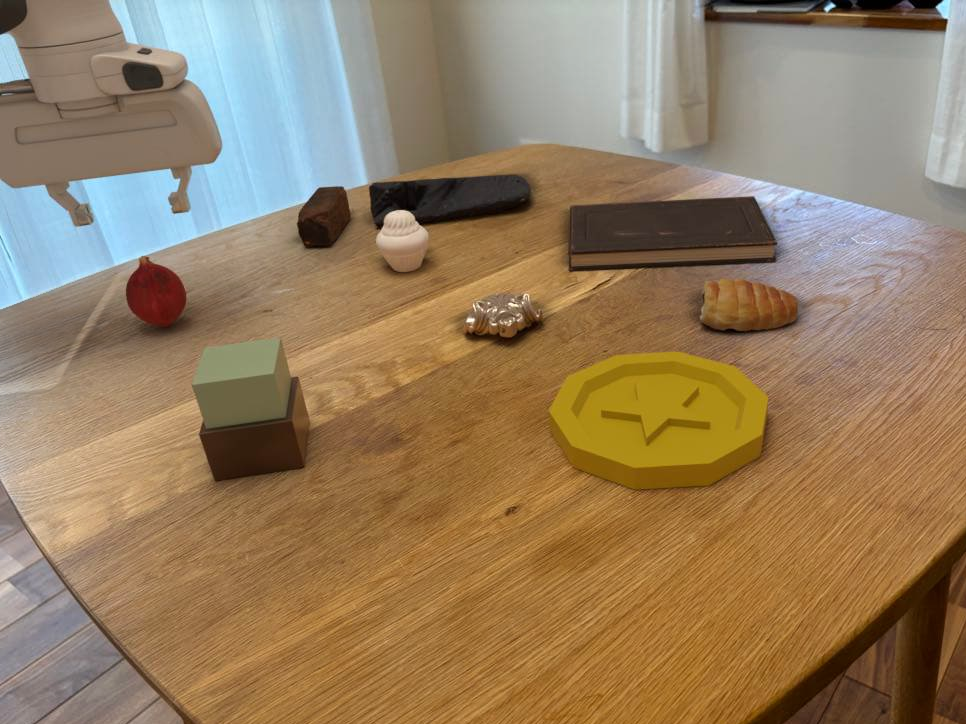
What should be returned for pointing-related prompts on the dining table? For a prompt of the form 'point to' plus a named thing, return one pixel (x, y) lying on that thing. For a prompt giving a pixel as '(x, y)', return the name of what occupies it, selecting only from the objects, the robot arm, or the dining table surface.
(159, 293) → the onion
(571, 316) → the dining table surface
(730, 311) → the pastry
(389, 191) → the dark slate chunk
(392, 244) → the cream cupcake
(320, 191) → the dark brown bar
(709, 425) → the decorative disc
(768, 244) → the hardcover book
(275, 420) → the walnut block
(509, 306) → the ornament
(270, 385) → the sage block
